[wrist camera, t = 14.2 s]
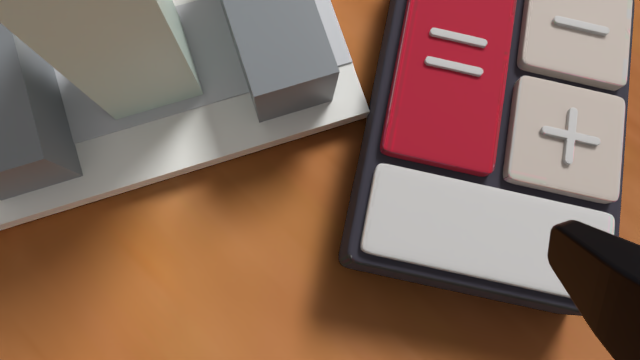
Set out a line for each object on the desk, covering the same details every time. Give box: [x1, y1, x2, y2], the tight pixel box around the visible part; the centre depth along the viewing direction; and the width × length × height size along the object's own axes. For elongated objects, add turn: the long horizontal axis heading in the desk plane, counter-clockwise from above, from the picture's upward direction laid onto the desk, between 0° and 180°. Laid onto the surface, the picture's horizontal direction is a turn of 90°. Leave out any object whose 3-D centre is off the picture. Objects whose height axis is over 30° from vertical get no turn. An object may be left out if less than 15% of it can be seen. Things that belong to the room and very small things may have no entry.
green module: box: [0, 0, 203, 120], centre depth 18 cm, size 4×4×10 cm
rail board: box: [0, 0, 370, 230], centre depth 21 cm, size 18×10×4 cm, turn 109°
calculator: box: [339, 0, 634, 316], centre depth 23 cm, size 11×4×15 cm
